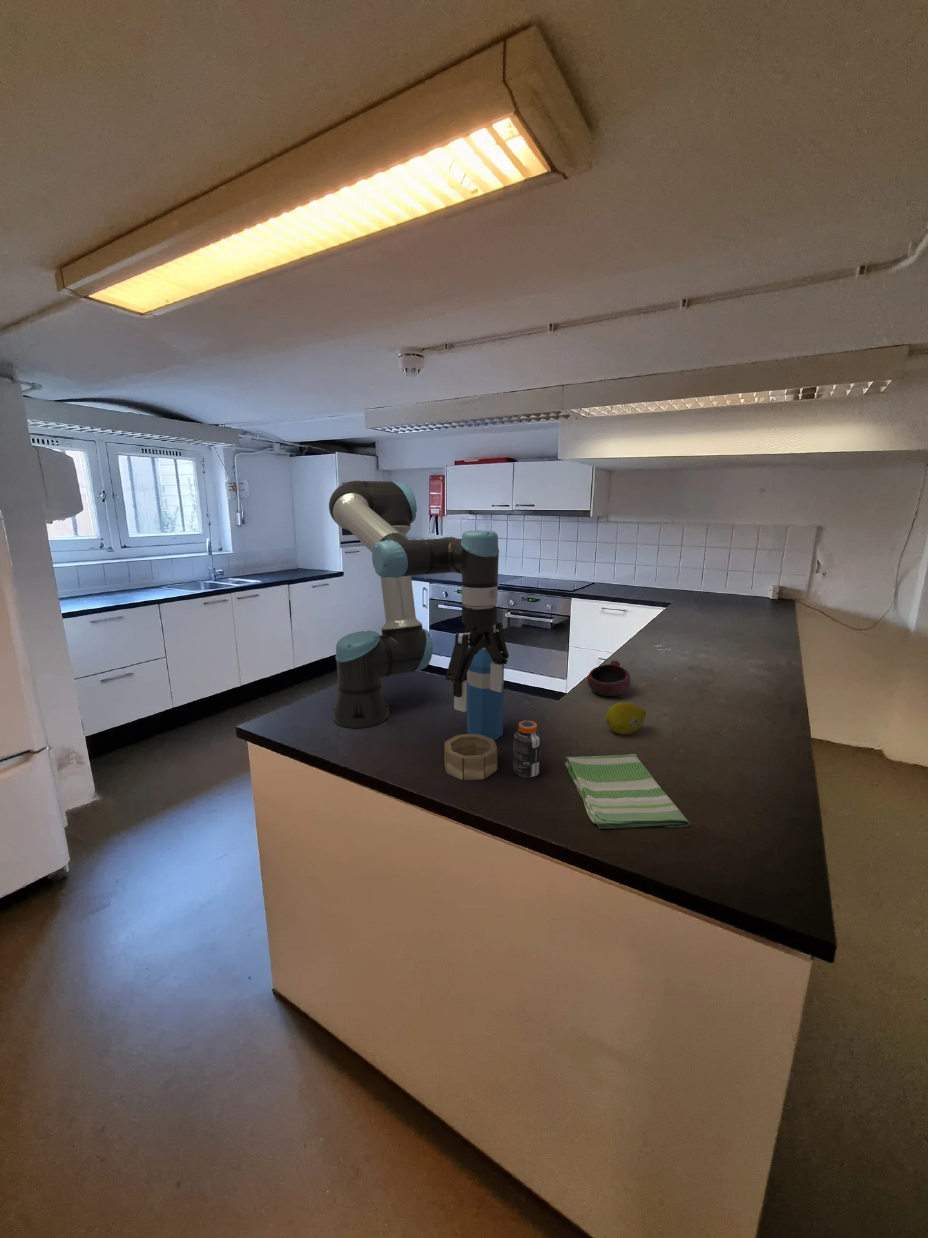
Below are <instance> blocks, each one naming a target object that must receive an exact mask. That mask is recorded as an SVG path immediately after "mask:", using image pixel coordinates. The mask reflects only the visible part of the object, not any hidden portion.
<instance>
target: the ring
mask: <svg viewBox="0 0 928 1238" xmlns="http://www.w3.org/2000/svg"><path fill="white" fill-rule="evenodd" d="M496 743H497V742H496V741H494V740H493V739H491V738H489V737H486V736H483V735H480V734H468V733H464V734H458V735H457V734H456V735H454V736H453V737H451V738H450V739H448V740H446V741H445V742H444V767H445V773H446V775H447V774H448V775H449V776H452V777H454V778H456V779H459V780H461V781H462V780H464V781H476V780H484V779H487V778H488V777H490V776H491V775H493V774H494V773H495V772H496V771H498V747H497V745H496Z"/></svg>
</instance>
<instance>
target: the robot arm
mask: <svg viewBox="0 0 928 1238" xmlns="http://www.w3.org/2000/svg"><path fill="white" fill-rule="evenodd" d="M417 509H418V507H417V501H416V496H415V495H414V492H413V490H412V489H411V487H409V486H408V484H406V483H405V482H401V481H400V482H399V481H393V480H389V481H388V480H387V481H386V480H384V481H382V480H381V481H379V480H374V481H373V480H352V481H351V480H350V481H347V482H344V483H343V484H341V485H339V486H338V487H337V488H336V489H334V491H333V492H332V494H331V495H330V498H329V502H328V510H329V511H328V512H329V514H330V516H331V518H332V520H333V521H334V523H336V524H337V525H338V527H340V528H342V529H344V530H348V531H349V532H350V533H352V535H353V536H354V537H356V538H357V540H359V541H360V542H361V543H362V544H363V546H365V547H366V548H367V550H369V552H371V553H372V554H371V561H372V566H373V568H374V569H375V570H374V572H375V573H376V574H377V575H378V576H379V577H380V584H381V593H382V600H383V609H384V615H385V616H384V617H385V623H384V624H383V625H382V627H381V628H380V629H381V630H380V631H381V634H380V633H378V632H377V631H375V630H366V631H364V630H361V631H355V632H352V633H349V634H346V635H344V636H343V637H341V638H340V639H338V640H337V642H336V645H335V661H336V674H337V691H338V694H337V697H336V700H335V701H336V702H335V704H334V705H335V706H334V708H333V712H332V716H333V717H332V718H333V722H335V724H336V725H338V726H340V727H344V728H350V729H361V728H368V727H373V726H376V725H378V724H382V723H383V722H384V721H386V720H387V719H388V718H389V716H390V707H389V703H388V702H387V699H386V696H385V694H384V691H383V689H382V678H386V677H392V676H397V675H401V674H407V673H415V672H416V671H417V672H418V671H421V670H425V668H427V667H428V666H429V664H430V662H431V660H432V657H433V653H434V652H433V649H434V646H433V645H434V644H433V640H432V636H431V633H430V632H429V631H428V629H425V628H423V622H421V621H420V620H419V619H418V618H417V616H416V607H415V599H414V598H415V597H414V591H413V581H412V580H413V579H412V577H413V576H422V575H435V574H437V575H438V574H448V573H455V574H460V575H461V604H462V605H463V606H462V607H461V622H462V623H463V625H464V626H465V630H464V631H465V632H464V633H461V632H456V633H455V637H454V638H455V639H454V646H453V649H452V653H451V656H450V661H449V665H448V667H447V669H446V670H447V671H446V674H445V680H446V681H449V682H452V695H453V701H454V702H453V709H454V710H456V711H460V712H463V713H465V712H466V713H467V680H465V678H467V672H468V670H469V667H470V665H471V663H472V660H473V658H474V656H475V654H477V653H478V651H479V650H481V649H482V648H485V649H486V650H487V652H488V653H489V655H490V657H491V658H492V660H493V661H494V662H495V663H493V662H492V663H491V672H490V690H493V691H497V692H502V667H503V664H504V665H507V663H508V658H509V656H510V655H509V652H508V648H507V645H506V641H505V637H504V635H503V626H502V623H501V622H499V621H498V607H497V606H496V605H497V604H498V595H499V592H498V582H499V556H500V555H499V553H500V549H499V536H498V534H497V532H496V531H494V530H493V531H492V530H465V531H464V532H463V533H462V534H461V535H462V536H461V538H457V537H454V536H449V537H448V536H443V537H440V538H430V539H429V538H427V539H425V538H424V539H423V538H421V539H408V538H407V534H408V533H409V532H410V530H411V528H412V527H411V524H412V523H413V522H414V521H415V520H416V517H417V512H418V510H417Z"/></svg>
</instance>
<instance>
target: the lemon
mask: <svg viewBox="0 0 928 1238" xmlns="http://www.w3.org/2000/svg"><path fill="white" fill-rule="evenodd" d="M646 717H647V713H646V710H645V709H644V708H642V707H640V706H639V705H636V704H635V703H632V702H624V701H623V702H617V703H614V704H612V705H611V706H610V707H609V708H608V710H607V713H606V716H605V722H606V723H607V725H608V728H610V730H611V731H612V732H614V733H616V734H619V735H629V734H633V733H635V732H636V731H638V730H639V729H640V727H642V725H643V723H644V721H645V718H646Z"/></svg>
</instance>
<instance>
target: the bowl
mask: <svg viewBox="0 0 928 1238" xmlns="http://www.w3.org/2000/svg"><path fill="white" fill-rule="evenodd" d="M630 675H631V674H630V673H629V672H628V671H627V669H625V668H624V667H622V666H621V664H620V662H619V661H618V660H612V661H611V662H610V663H608V664H604V665H600V666H597V667H594V668H592V670H590V672H589V673H588V676H587V679H586V680H587V685H588V687H589V688H590V690H591V691H593V692H595V693H596V694H599V695H601V696H604V697H606V696H607V697H617V696H619V695H622V694H623V693H625V692H626V691H627V690H628V689H629V687H630V684H631V678H630V677H631V676H630Z"/></svg>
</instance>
